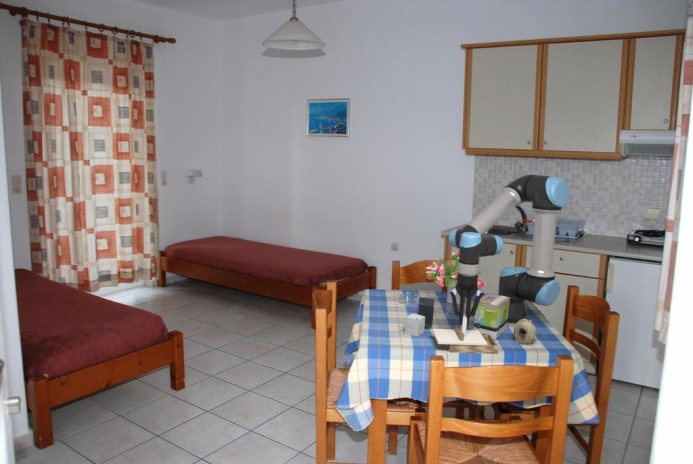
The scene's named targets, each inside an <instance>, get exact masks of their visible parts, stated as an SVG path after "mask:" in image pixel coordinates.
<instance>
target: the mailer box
mask: <svg viewBox="0 0 693 464" xmlns="http://www.w3.org/2000/svg"><path fill="white" fill-rule="evenodd" d="M481 335H482V336H483V338H484V339H485V341H486V342H487V346H485V345H454V344H445V345H446V347H447V349H448V351H449V353H459V354H460V353H461V354H462V353H463V354H468V353H469V354H489V355H490V354H492V355H493V354H494V355H498V354H499V347H500V346H499V345H498V343H497V342H496V340H494V339H493V338H492V336H491V335H490V334H485V333H481Z"/></svg>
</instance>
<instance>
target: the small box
mask: <svg viewBox="0 0 693 464" xmlns="http://www.w3.org/2000/svg"><path fill="white" fill-rule="evenodd" d="M417 306H418V308H417V314H418V315H421V316H425V327H424V329H426V330H427V329H429V330H432V329H433V328H432V327H433V321H434V316H435V315H434V313H435V298H431V297H430V298H429V297H423V296H421V297H419V302H418V305H417Z"/></svg>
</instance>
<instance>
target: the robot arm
mask: <svg viewBox="0 0 693 464" xmlns="http://www.w3.org/2000/svg"><path fill="white" fill-rule="evenodd" d="M500 192H501V193H500V194H498V196H496V198H495V199H493V200H492V201H491V202H490V203H489V204H488V205H487V206H486V207H485V208H483V209H482V210H481V211H480V212H479V213H478V214H477V215H476V216H475V217H474V218H473V219H471V220H470V221H469V222H468V223H467V224H465V226H464V227H462V228H461V229H460V228H454V229H452V230H451V231H450V233H449V234H448V242H449V245H450V246H451V247H453V248H456V249H458V250H459V251H458V253H459V255H458V264H457V265H458V268H457V272H458V273H457V276H456V277H457V278H456V279H457V280H456V285H455V288H453V289H450V290H449V292H448V293H449V294H450V295H451V301H452V307H453V312H454V315H455V316H456V317H458V325H459V326H460V328H461V330H462V332H463V334H465V335H466V330H467V326H469V325H470V320H471V317H472V318H473V317H475V314H476V311H477V308H478V305H479V302H480V299H481V298H482V297H483V296H484V295H485V294H484V292H483V291H482V290H479V287H478V279H479V275H478V274H479V267H480V265H479V264H480V259H481V258H482V257H491V256H492V257H493V256H495V255H499V254H501V253H502V252H503V250H504V241H503V239H502V238H501V237H500V236H498V235H493V234H491V235H485V234H486V233H487V232H488V231H490V229H491V228H492V227H493V226H495V224H496V223H497V222H499V221H500V220H501V219H503V217H505V216H506V214H508V213H509V211H511V210H512V209H513V208H514V207H519V206H520V205H521V204H523V203H532V205H531V209H532V210H533V211H534V224H533V233H532V234H533V235H532V236H533V237H532V245H531V246H532V247H531V250H532V251H531V258H530V267H529V268H527V267H524V266H506V267H503V268H501V269H500V273H499V277H498V278H499V279H498V292H497V293H498V294H497V295H500V296H505V297H510V304H509V313H508V322H507V323H512V324H513V323H514V324H516V323H517V322H518V321H519V320H521V319H527V320H528V310H527V307H526V301H527V302H530V303H532V304H536V305H539V306H544V307H548V306H550V305H552V304H553V303H555V302H556V301H557V299H558V297H559V295H560V293H561V284H560V282H559V280H556V273H555V272H554V271H553V265H554V264H553V260H554V252H555V241H556V230H557V220H558V214H559V213H560V212H561V211H562V209H563V207H565V206H566V205H568V201H569V199H570V195H571V194H570V187H569V184H568V183H567V181H566V180H565V179H563V177H558V176H554V175H553V176H552V175H539V174H533V173H532V174H525V175H522V176H520V177H518V178H515V179H514V180H513V181H511V182H509V183H508V184H507V185H506V186H504V188H502V189H501V191H500ZM457 294H458V296H459V306H458V302H457V297H456V295H457ZM475 295H476V296H475ZM474 296H475V298H474V301H473V304H472V300H473V297H474ZM465 301H466V306H465ZM458 307H459V308H458ZM464 313H465V315H464Z"/></svg>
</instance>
